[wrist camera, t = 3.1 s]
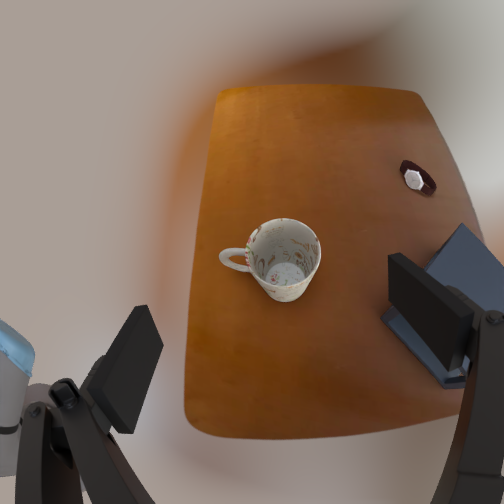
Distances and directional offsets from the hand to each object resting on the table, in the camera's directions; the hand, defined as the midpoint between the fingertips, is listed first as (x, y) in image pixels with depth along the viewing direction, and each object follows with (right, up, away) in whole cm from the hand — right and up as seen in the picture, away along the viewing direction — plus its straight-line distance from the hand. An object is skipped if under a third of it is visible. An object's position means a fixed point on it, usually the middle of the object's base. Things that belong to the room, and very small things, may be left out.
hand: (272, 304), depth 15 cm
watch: (+28, +15, +31) cm, 44 cm away
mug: (+2, -1, +27) cm, 27 cm away
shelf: (+27, -7, +20) cm, 34 cm away
